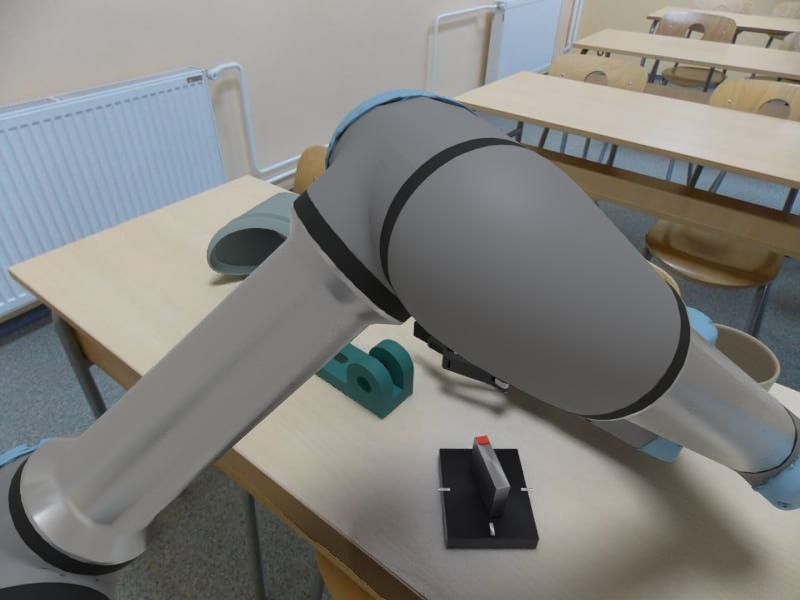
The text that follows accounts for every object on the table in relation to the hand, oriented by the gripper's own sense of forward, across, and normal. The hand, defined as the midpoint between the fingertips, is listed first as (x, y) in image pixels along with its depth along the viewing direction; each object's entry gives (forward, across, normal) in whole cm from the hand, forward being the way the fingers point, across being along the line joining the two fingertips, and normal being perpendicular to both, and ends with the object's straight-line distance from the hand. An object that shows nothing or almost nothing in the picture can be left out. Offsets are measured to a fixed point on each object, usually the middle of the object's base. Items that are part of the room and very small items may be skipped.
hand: (435, 312), depth 81 cm
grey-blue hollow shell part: (+33, -3, -6) cm, 33 cm away
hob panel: (-22, -19, -6) cm, 30 cm away
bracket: (+4, -14, -6) cm, 16 cm away
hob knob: (-22, -19, -4) cm, 29 cm away
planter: (-37, +14, -6) cm, 40 cm away
